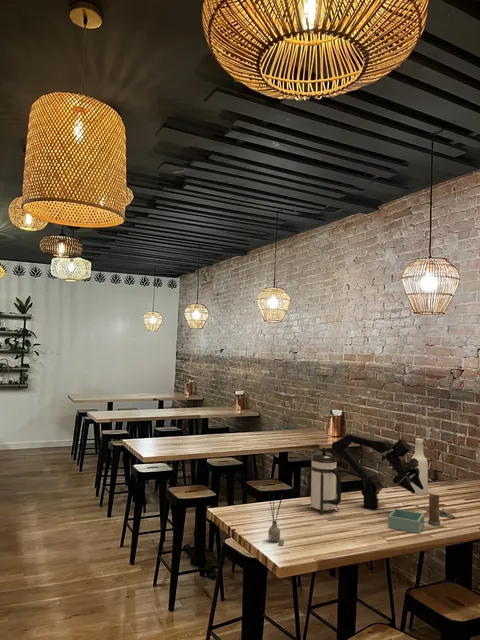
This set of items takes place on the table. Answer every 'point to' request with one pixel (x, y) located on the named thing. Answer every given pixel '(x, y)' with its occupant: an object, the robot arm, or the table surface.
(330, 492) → the coffee press
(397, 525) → the green square tray
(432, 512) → the brown tower block
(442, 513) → the driftwood
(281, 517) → the table surface
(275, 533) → the reed diffuser
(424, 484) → the alcohol
